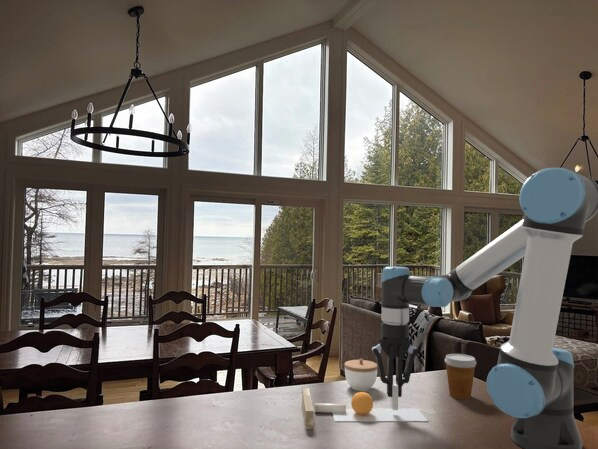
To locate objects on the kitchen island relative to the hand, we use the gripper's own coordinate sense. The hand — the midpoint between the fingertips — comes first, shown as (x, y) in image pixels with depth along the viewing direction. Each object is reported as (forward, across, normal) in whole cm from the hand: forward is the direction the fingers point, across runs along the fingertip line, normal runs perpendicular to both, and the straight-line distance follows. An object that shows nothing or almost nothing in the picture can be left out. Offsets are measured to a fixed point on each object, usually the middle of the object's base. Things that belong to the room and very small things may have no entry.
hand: (394, 408), depth 128 cm
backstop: (+2, +24, 0) cm, 24 cm away
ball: (-1, +9, -1) cm, 9 cm away
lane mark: (+2, +4, 0) cm, 5 cm away
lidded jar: (+2, +5, -23) cm, 24 cm away
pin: (+1, +13, -2) cm, 13 cm away
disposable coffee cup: (+2, -25, -16) cm, 29 cm away
